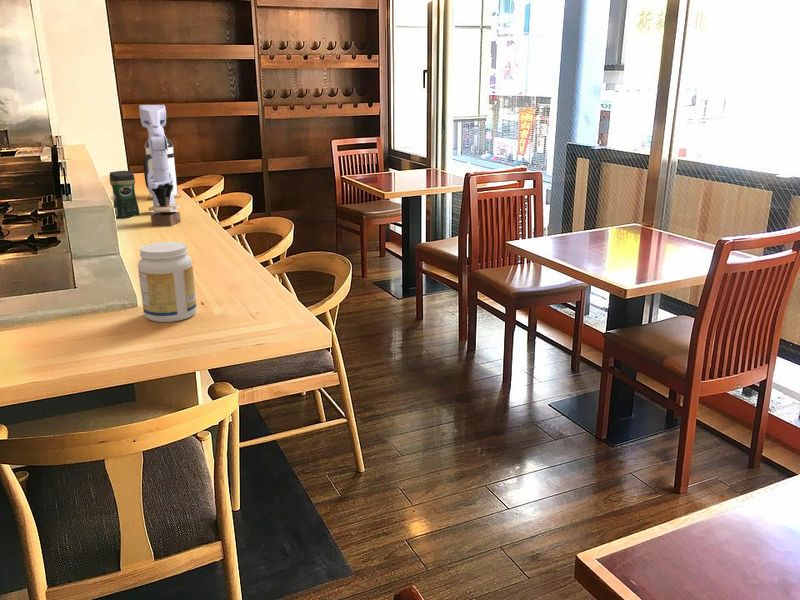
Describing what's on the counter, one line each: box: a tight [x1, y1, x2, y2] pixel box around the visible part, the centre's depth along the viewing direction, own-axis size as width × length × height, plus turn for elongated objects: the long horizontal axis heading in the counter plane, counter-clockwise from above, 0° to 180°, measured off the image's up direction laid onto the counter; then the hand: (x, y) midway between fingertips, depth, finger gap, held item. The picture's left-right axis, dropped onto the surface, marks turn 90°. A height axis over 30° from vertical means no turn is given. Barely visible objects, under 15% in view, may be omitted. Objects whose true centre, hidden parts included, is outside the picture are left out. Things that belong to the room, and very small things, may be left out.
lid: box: [148, 197, 182, 213], centre depth 259 cm, size 9×9×5 cm
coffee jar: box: [109, 170, 140, 219], centre depth 275 cm, size 10×8×19 cm
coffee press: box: [143, 138, 182, 201], centre depth 315 cm, size 17×16×30 cm
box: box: [150, 211, 182, 227], centre depth 261 cm, size 8×8×4 cm
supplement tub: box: [137, 241, 198, 323], centre depth 160 cm, size 12×12×17 cm
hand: (164, 204), depth 259 cm, fingers closed on lid, 3 cm apart
